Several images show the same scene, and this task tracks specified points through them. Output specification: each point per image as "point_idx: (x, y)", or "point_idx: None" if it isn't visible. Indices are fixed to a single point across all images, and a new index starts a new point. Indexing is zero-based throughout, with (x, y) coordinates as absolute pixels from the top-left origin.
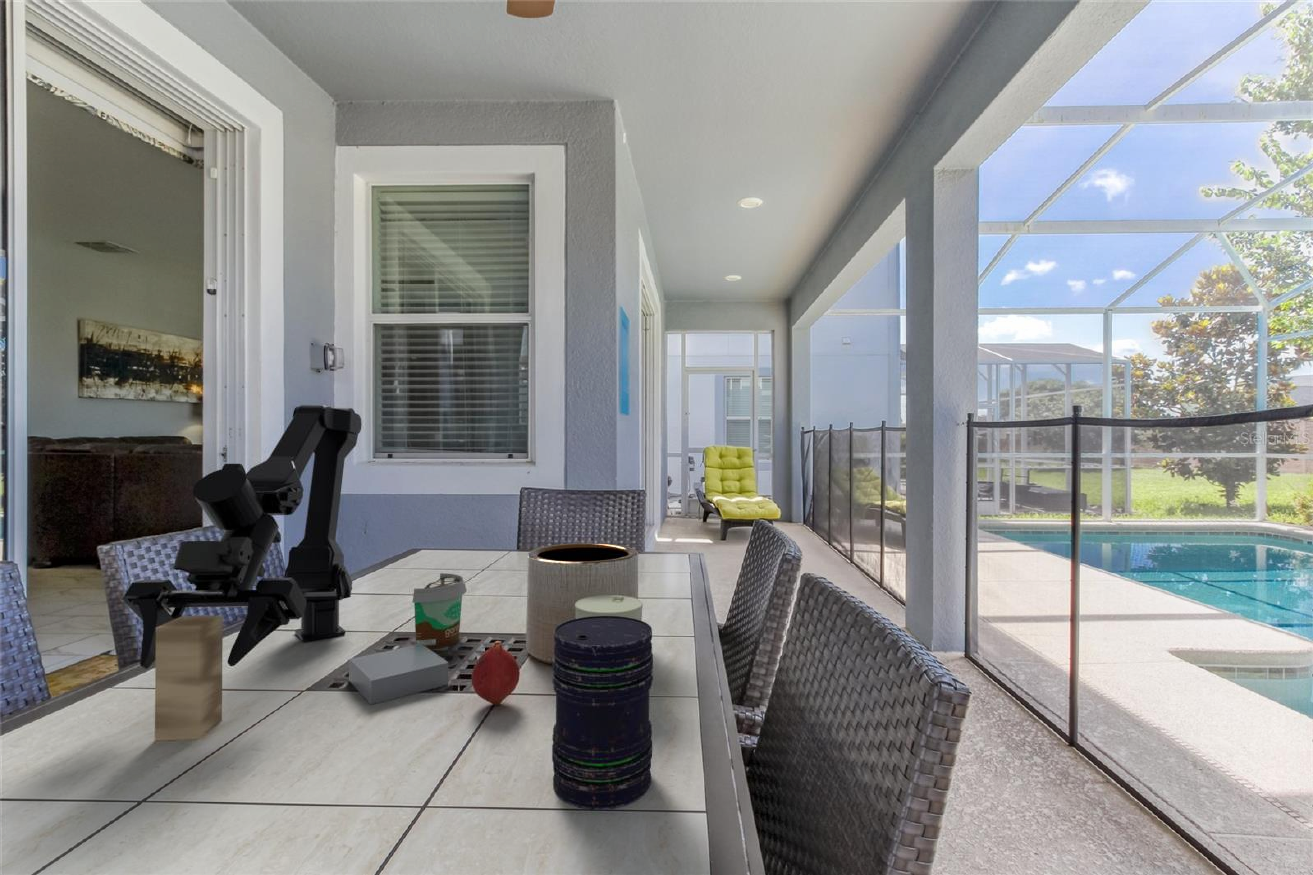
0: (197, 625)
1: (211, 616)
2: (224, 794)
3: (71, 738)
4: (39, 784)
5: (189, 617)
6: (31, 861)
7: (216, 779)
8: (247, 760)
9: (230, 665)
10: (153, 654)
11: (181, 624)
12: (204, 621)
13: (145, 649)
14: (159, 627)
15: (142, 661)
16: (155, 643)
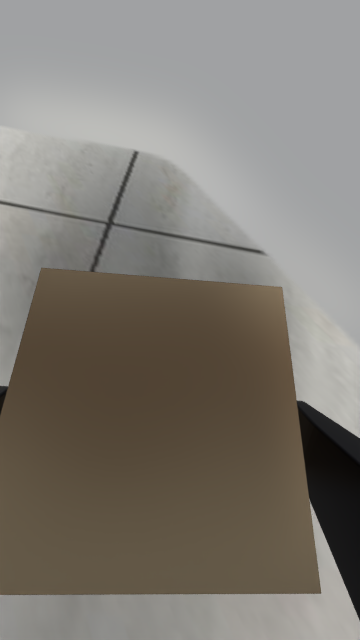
0: (63, 295)
1: (49, 553)
2: (15, 219)
3: (344, 420)
4: (261, 279)
5: (227, 530)
6: (154, 157)
7: (38, 253)
8: (8, 295)
9: None
10: (307, 455)
11: (175, 330)
12: (52, 384)
13: (334, 431)
14: (267, 291)
15: (301, 403)
16: (341, 487)
